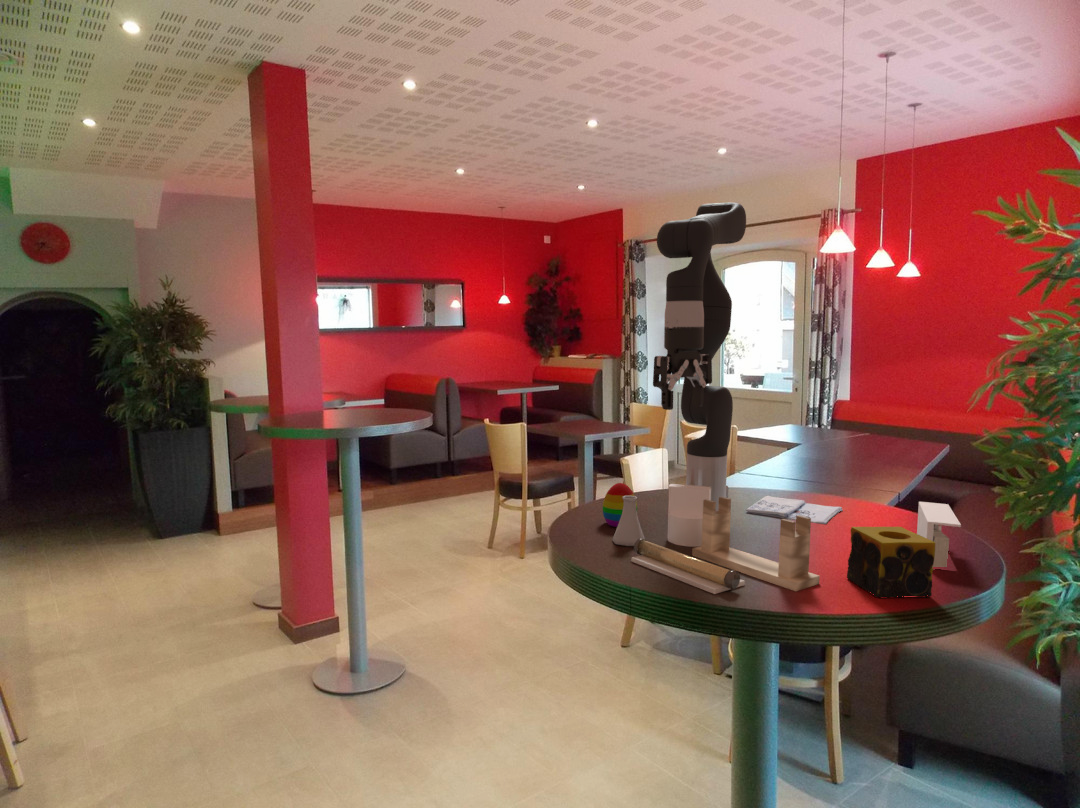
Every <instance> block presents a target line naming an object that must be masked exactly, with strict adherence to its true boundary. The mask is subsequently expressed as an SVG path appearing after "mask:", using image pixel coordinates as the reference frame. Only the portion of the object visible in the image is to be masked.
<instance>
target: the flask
mask: <svg viewBox="0 0 1080 808" xmlns="http://www.w3.org/2000/svg"><path fill="white" fill-rule="evenodd" d="M622 498H623V500H624V507H623V512H622V516H621V518H620V521H619V524H618V527H616V530H615V533H614V535H613V537H612V540H611V541H613V543H614V544H615V545H617V546H618V545H619V546H625V547H634V544H635V542H636V541H637V540H638V539H640V538H642V539H645V540H646V538H645V536H644V532H643V530H642V526H641V524H640V520H639V517H638V510H637V511H636V501H637V500H638V497H637V496H636V495H635V496H623V497H622Z"/></svg>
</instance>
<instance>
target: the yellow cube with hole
mask: <svg viewBox="0 0 1080 808" xmlns="http://www.w3.org/2000/svg"><path fill="white" fill-rule="evenodd" d="M850 545H851V546H850V548H851V549H850V553H849V557H848V560H847V571H846V572H847V573H846V579H847V578H848V579H847V580H849V579H850V580H851V581H850V580H849V581H850V582H852V581H853V582H854V584H855V583H856V584H857V586H858V585H859V586H860V587H859V586H858V587H859V588H861V587H862V589H863V590H864V589H865V590H864V591H866V590H867V591H869V592H871V593H872V594H874V597H875V596H876V597H875V598H877V597H897V596H898V597H902V596H903V597H904V596H927V595H928V596H931V597H932V590H933V589H932V588H933V571H934V569H933V563H934V557H935V542H933V541H931V540H929V539H927V538H924V537H922V536H920V535H918V534H917V532H916V533H915V532H913V531H911V530H908V529H907V528H904V527H902V526H851V528H850ZM853 582H852V583H853ZM856 584H855V585H856ZM867 591H866V592H867ZM869 592H868V593H869ZM871 593H870V594H871ZM872 594H871V595H872Z"/></svg>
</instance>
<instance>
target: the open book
mask: <svg viewBox="0 0 1080 808" xmlns="http://www.w3.org/2000/svg"><path fill="white" fill-rule="evenodd" d="M745 511H746V513H747V514H754V515H762V516H767V517H774V518H781V519H787V520H792V521H796V516H799V515H800V516H804V517H808V518H811V523H814V524H820V525H826V524H828V523H829V521H830V520H832V518H834V517H835V516H836V515H838V514H839V512H840V511H841V512H844V510H843V507H842V506H832V505H823V504H814V503H810V502H809V503H808V502H806V501H805V500H804V499H795V498H785V497H784V498H782V497H777V496H770V495H766V496H764V497H762V498H761V499H760V500H758V501H756V502H754V504H752V505H750V506H749V507H748V508H746V509H745ZM797 511H798V512H797ZM841 512H840V513H841Z"/></svg>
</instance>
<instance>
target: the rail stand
mask: <svg viewBox="0 0 1080 808" xmlns="http://www.w3.org/2000/svg"><path fill="white" fill-rule="evenodd" d="M731 507H732V499H731V498H730V497H728V498H726V497H719V504H718V511H716V502H715V501H711V500H707V499H705V500H703V522H702V546H697V547H692V550H691V551H692V553H691V557H694V558H697V559H700V560H703V561H705V562H708V563H711V564H714V565H717V566H720V567H723V568H726V569H729V570H734V571H737V572H738V573H739V572H740V573H741V574H744V575H747V576H750V577H752V578H756V579H758V580H761V581H764V582H768V583H770V584H774V585H776V586H779V587H781V588H785V589H787V590H791V591H793V592H799V591H801V590H804V589H807V588H811V587H813V586H817V585H820V577H821V576H820V575H819V574H815V573H812V572H809V570H810V550H811V549H810V548H811V547H810V546H811V527H812V526H811V523H812V522H811V518H808V517H804V516H800V515H799V516H796V520H792V519H790V520H789V519H786V518H781V519H780V526H779V527H780V529H779V544H778V545H779V549H778V551H779V552H778V561H774V560H771V559H767V558H765V557H762V556H759V555H755V554H752V553H748V552H745V551H742V550H739V549H736V548H733V547H731V546H730V543H731V542H730V541H731V539H730V537H731V514H732V510H731V509H732V508H731Z"/></svg>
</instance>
